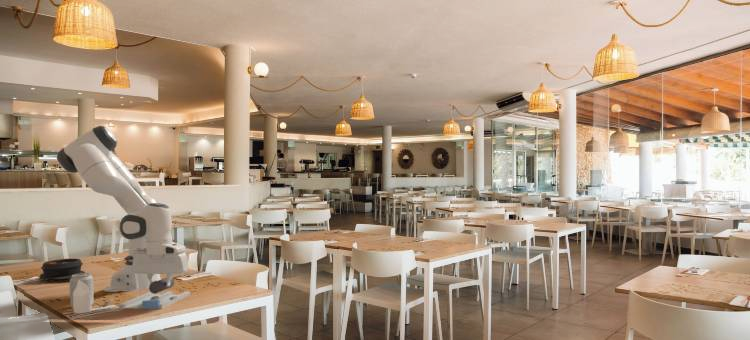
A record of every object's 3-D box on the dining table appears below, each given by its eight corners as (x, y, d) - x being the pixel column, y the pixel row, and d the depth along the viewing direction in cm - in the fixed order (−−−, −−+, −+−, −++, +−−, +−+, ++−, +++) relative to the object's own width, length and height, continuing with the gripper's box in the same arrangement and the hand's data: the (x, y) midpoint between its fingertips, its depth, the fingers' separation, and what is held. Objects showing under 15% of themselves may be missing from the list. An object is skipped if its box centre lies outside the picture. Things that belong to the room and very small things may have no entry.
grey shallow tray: (119, 310, 181) (119, 301, 181) (151, 296, 201) (150, 288, 201) (162, 311, 179) (161, 301, 179) (189, 297, 199) (189, 288, 199)
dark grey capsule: (157, 295, 183) (160, 284, 183) (147, 291, 184) (150, 280, 183) (172, 288, 193) (175, 278, 193) (163, 285, 193) (166, 275, 193)
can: (76, 304, 192) (75, 272, 192) (97, 303, 192) (96, 271, 192) (66, 310, 184) (65, 276, 184) (88, 309, 185) (87, 275, 185)
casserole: (29, 279, 243) (28, 262, 243) (71, 272, 258) (71, 256, 258) (52, 285, 228) (52, 266, 228) (95, 277, 243) (95, 260, 243)
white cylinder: (95, 278, 180) (80, 281, 175) (96, 312, 180) (81, 316, 175) (82, 277, 182) (68, 280, 177) (83, 311, 182) (69, 315, 177)
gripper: (127, 249, 186) (128, 287, 186) (180, 249, 183) (181, 288, 183) (138, 246, 192) (139, 283, 192) (189, 246, 189) (190, 284, 189)
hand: (160, 286), depth 187 cm, fingers closed on dark grey capsule, 4 cm apart
